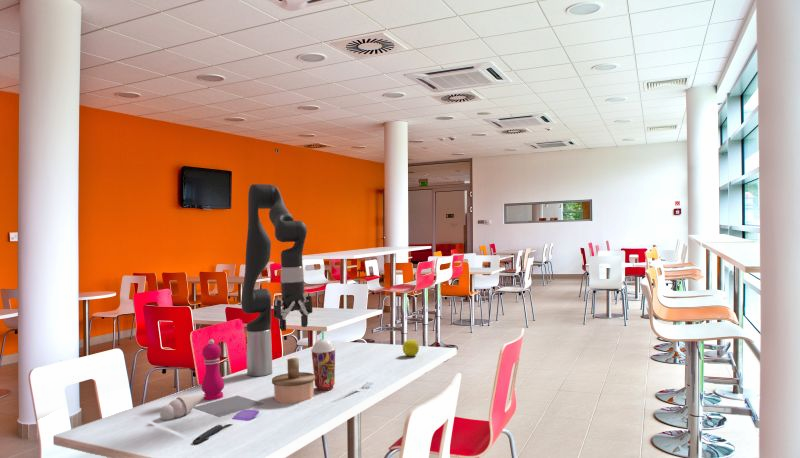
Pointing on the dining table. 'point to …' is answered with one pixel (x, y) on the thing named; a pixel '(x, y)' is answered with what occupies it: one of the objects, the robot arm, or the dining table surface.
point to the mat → (228, 406)
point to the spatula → (243, 415)
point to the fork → (353, 391)
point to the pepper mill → (212, 372)
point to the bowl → (293, 393)
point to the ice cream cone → (179, 407)
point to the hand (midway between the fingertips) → (293, 328)
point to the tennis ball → (410, 348)
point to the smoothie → (324, 364)
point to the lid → (293, 375)
